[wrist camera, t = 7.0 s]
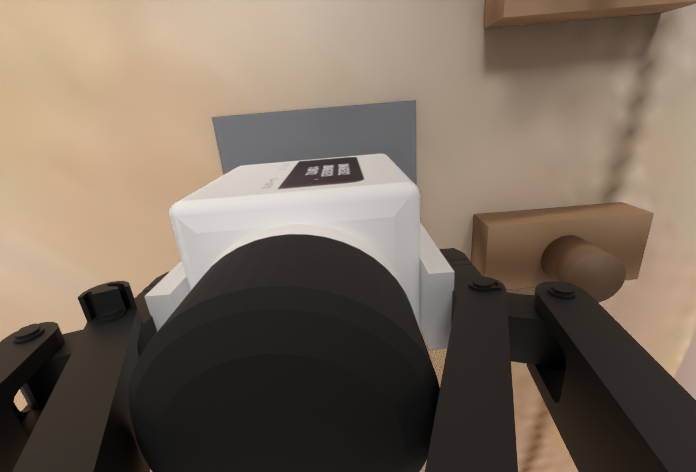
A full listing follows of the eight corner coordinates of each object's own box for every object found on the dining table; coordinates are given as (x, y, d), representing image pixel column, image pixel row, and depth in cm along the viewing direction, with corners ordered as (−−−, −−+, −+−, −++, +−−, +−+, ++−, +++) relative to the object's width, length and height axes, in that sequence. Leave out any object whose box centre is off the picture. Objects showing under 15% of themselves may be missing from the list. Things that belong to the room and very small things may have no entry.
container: (235, 164, 17) (-10, 298, 5) (388, 151, 17) (502, 256, 5) (261, 298, 20) (140, 590, 8) (393, 287, 20) (476, 566, 8)
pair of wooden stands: (493, -149, 17) (631, -379, 9) (700, -168, 17) (1029, -418, 9) (470, 273, 25) (531, 352, 17) (609, 262, 25) (735, 337, 17)
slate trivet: (215, 117, 21) (211, 117, 20) (413, 100, 21) (415, 100, 20) (250, 290, 25) (248, 295, 24) (415, 277, 25) (417, 281, 24)
